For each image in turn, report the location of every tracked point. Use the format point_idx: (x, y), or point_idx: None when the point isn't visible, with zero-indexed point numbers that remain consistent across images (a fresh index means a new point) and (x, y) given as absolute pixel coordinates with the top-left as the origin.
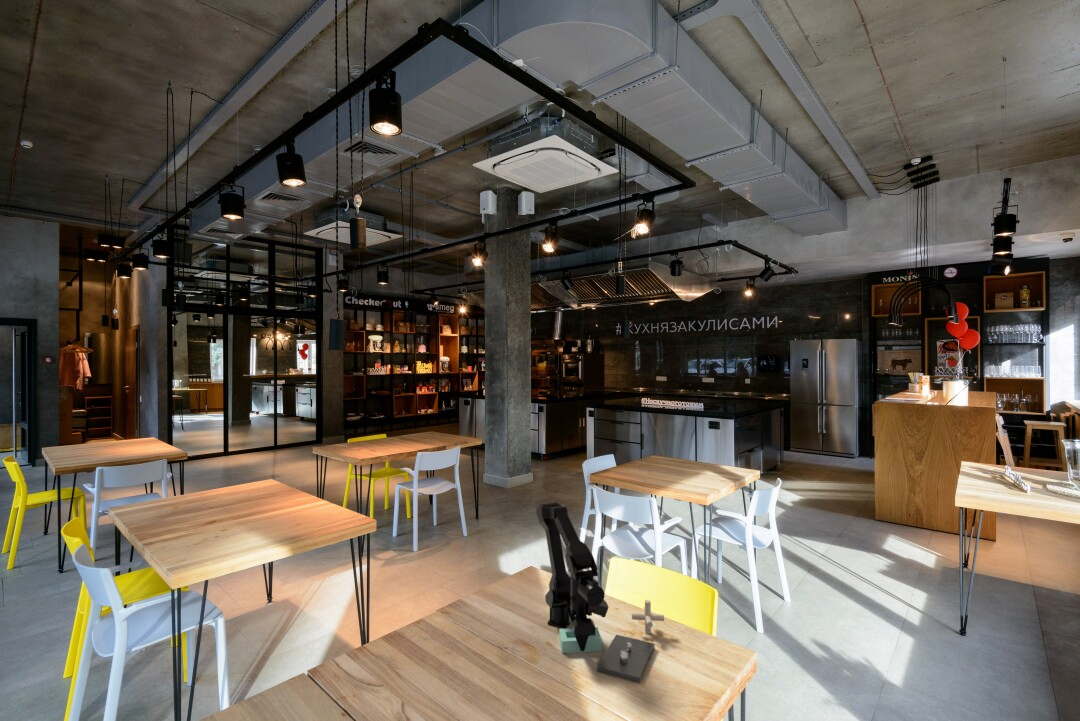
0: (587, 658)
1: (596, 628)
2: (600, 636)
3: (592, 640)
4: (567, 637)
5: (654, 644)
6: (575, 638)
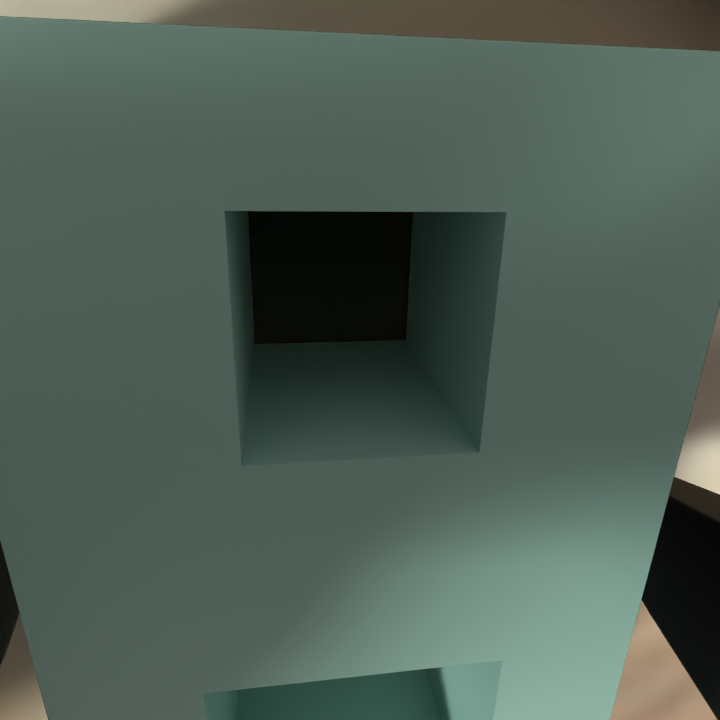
0: (698, 392)
1: (1, 81)
2: (602, 52)
3: (698, 359)
4: (232, 716)
5: None
6: (525, 714)
